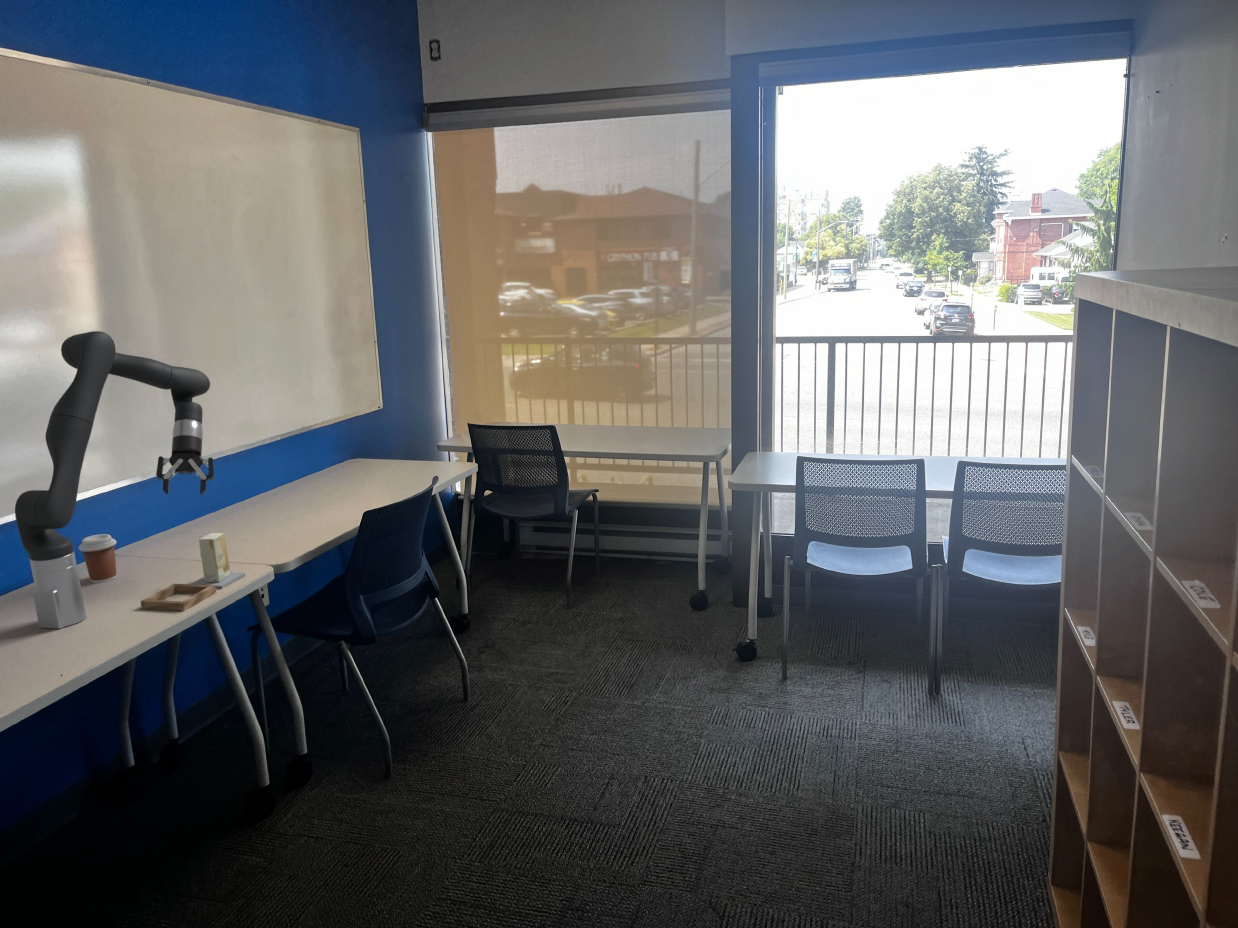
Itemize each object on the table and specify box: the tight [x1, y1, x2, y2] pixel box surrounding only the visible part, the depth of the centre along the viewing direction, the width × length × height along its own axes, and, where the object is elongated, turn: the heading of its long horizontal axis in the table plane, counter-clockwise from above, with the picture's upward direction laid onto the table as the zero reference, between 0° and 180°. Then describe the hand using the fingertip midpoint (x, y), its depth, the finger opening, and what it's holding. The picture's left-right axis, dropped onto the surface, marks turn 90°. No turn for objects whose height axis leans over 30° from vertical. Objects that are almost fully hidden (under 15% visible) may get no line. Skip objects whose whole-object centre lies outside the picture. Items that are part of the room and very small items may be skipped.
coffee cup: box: [78, 533, 118, 584], centre depth 246 cm, size 9×9×12 cm
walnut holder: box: [140, 583, 217, 612], centre depth 229 cm, size 12×12×2 cm
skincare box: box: [198, 532, 231, 582], centre depth 240 cm, size 6×4×12 cm
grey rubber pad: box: [190, 571, 246, 589], centre depth 242 cm, size 10×10×1 cm
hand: (184, 493), depth 243 cm, fingers open, 8 cm apart
